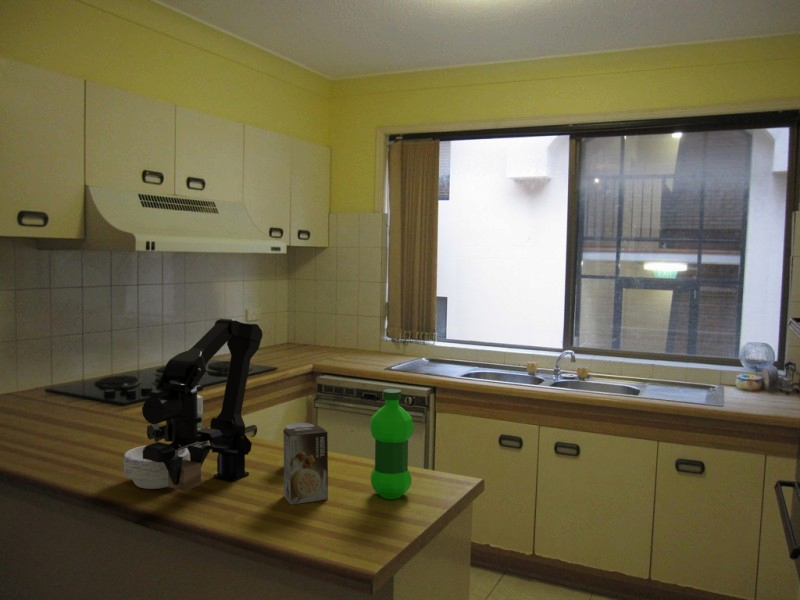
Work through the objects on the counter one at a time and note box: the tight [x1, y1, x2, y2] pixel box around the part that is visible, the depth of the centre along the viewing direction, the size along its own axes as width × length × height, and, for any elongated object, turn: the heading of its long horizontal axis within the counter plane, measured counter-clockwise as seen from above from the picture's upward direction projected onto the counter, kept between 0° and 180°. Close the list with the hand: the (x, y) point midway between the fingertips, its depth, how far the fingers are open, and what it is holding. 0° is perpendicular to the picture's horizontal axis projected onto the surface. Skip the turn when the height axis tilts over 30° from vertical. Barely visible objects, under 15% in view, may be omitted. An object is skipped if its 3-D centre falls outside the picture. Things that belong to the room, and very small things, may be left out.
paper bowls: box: [123, 444, 190, 490], centre depth 161 cm, size 15×15×8 cm
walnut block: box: [167, 459, 202, 492], centre depth 149 cm, size 5×5×5 cm
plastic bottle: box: [369, 388, 415, 500], centre depth 155 cm, size 10×10×25 cm
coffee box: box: [283, 425, 329, 506], centre depth 152 cm, size 9×6×16 cm
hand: (184, 481), depth 149 cm, fingers closed on walnut block, 5 cm apart
